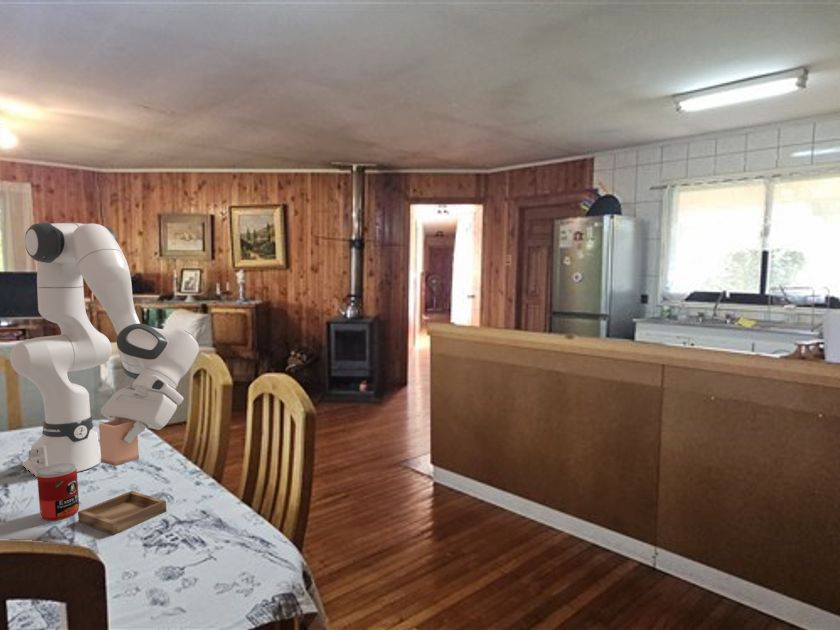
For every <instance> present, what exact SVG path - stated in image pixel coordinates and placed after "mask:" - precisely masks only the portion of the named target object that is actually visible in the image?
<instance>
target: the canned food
mask: <svg viewBox="0 0 840 630" xmlns="http://www.w3.org/2000/svg"><path fill="white" fill-rule="evenodd" d="M36 479H37V491H38V502H39V503H38V504H39V514H40V517H41V519H42V520H44V521H49V522H50V521H52V522H53V521H60V520H64V519H67V518H70V517H72V516H74V515H76V514H78V512H79V508H80V501H79V499H80V498H79V484H78V483H79V482H78V472H77V468H76V465H75V464H71V463H62V464H55V465H51V466H47V467H44V468H42V469H40V470H39V471H38V472H37V477H36Z"/></svg>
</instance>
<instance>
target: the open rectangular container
mask: <svg viewBox="0 0 840 630" xmlns="http://www.w3.org/2000/svg"><path fill="white" fill-rule="evenodd" d="M135 422H136V421H133V420H128V419H123V418H120V419H116V420H112V421H109V420H108V421H105V422H101V423H99V424H98V431H99V448H100V453H101V460H100V462H101V463H103V464H105V465H106V464H107V465H109V466H114V467H118V466H121V465H124V464H127V463H129V462H132V461H135V460H139V459H140V455H139V440H138V439H139V438H138V435H137V436H136V437H135V438H134V439H133V441H132V442H131V443H127V442H124V441H123V440H122V437H123V436H124V434H125V432H129V431H130V430H131V429H132V428H133V427H134V426H133V425H134V424H135Z"/></svg>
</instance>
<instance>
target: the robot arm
mask: <svg viewBox="0 0 840 630" xmlns="http://www.w3.org/2000/svg"><path fill="white" fill-rule="evenodd" d="M24 244H25V245H24V246H25V250H26V252H27V254H28V256H29V257H31V258H32V260H34V261H37V262H38V264H37V274H36V286H37V287H36V288H37V289H36V290H37V291H36V293H37V309H38V310H37V311H38V313H39V314H40V316H41V317H42V318H43V319H44V320H46V321H49V322H51V323H53V324H57V325H58V327H59V328H60V334H56V335H48V336H38V337H33V338H29V339H26V340H23V341H20V342H17V343H16V344H15V345H14V347H12V350H11V352H10V356H9V360H10V366H11V367H12V369H13V370H14V371H15V373H17V374H18V375H20V376H21V377H23V378H25V379H28V380H29V381H31V382H32V383H33V384H34V385H35V387H36V388H37V389H38V391H39V393H40V395H41V397H42V402H43V409H44V417H45V421H43V422H41V424H42V425H41V426H42V432H41V433H42V435H41V436H39V438H38V439H37V440H36V441H34V443H33V444H32V445H31V448H30V450H28V457H29V458H30V459H27V460H25V461H23V462H22V463H21V466H22V467H23V466H24V467H25V468H26V469H25V468H24V467H23V468H24V469H25V470H27V471H28V470H29V471H30V472H31V473H30V472H29V471H28V472H29V473H30V474H31V475H33V474H34V475H35V477H36V478H37V472H38V471H39V470H40V469H42V468H44V467H47V466H51V465H55V464H62V463H71V464H75V465H76V468H77V473H78V472H81V471H82V472H83V471H85V470H89V469H91V468H93V467H95V466H97V465H98V464H99V463H100V462H101V449H100V441H99V436H98V432H97V431H96V430H94V420H93V415H91V403H90V401H91V400H90V393H89V391H88V389H86V387H84V386H82V385H80V384H78V383H74V382H71V381H70V380H69V377H68V373H70V372H71V373H72V372H76V371H82V370H90V369H93V368H96V367H99V366H101V365H103V364H106V363H107V362H108V361H109V360H110V358H111V356H112V353H113V352H112V351H113V350H112V348H113V347H112V343H111V341H110V340H109V338H108V337H107V336H106V335H105V334H103V333H102V332H100V331H99V330H98V329H96V328H95V326H94V325H93V324H92V323H91V321H90V319H89V317H88V314H87V311H86V310H87V309H86V303H85V292H84V291H85V290H84V282H85V284H86V285H87V287H88V288H89V289H90V291H91V293H93V295H94V296H95V298H96V300H97V301H98V303H99V304H100V306H102V308H103V310H104V311H105V313H106V314H107V316H108V317H109V320H110V322H111V324H112V326H113V329H114V331H115V334H116V336H117V337H116V347H117V352H118V355H119V358H120V363H121V369H122V371H123V373H124V374H125V375H126V376H128V377H129V378H132V379H134V381H133V383H132V384H131V385H129V384H128V385H127V386H125V387H123V388H120V389H119V390H117V391H116V392H115V393H114V394H113V395H112V396H111V397H110V398H109V400H108V401H107V402H106V403H105V404H104V405H103V407H102V408H101V411H100V414H101V415H102V416H103V417H105V418H106V419H107V420H108V421H112V420H116V419H120V418H123V419H128V420H133V421H136V422H135V424H134V425H133V426H134V427H133V428H132V429H131V430H130V431H129V432H125V434H124V436H123V437H122V440H123V441H124V442H127V443H131V442H132V441H133V439H134V438H135V437H136V436H137V435H140V434H141V433H142V432H143V433H144V431H145V429H146V428H148V429H152V430H157V431H158V430H159V431H160V430H162V429H163V428H164V427H166V425H167V424H168V422H169V421H170V420H171V419H172V417H173V415H174V414H175V412H176V411H177V408H178V406H179V405H181V404H182V403H183V402H184V396H183V395H181V394H180V393H179V392H178V391H177V390H176V389H177V387H178V385H179V382H180V381H181V379H182V378H183V377H184V376H185V375H186V374H187V373H188V371H189V370H190V369H191V367H192V366H193V364H194V362H195V361H196V360H197V356H198V355H199V352H200V346H199V343H198V340H197V339H196V338H195V336H193V335H192V334H191V333H190V332H189V331H187V330H184V329H181V328H176V329H174V328H173V329H163V328H157V327H153V326H150V325H149V324H145V323H141V321H140V320H139V317H138V315H137V312H136V309H135V304H134V303H135V302H134V299H133V298H134V297H133V286H132V276H131V271H130V267H129V264H128V261H127V259H126V257H125V255H124V252H123V250H122V248H121V247H120V245H119V241H118V237H117V235H116V233H115V232H114V230H112V229H111V228H110V227H107V226H104V225H102V224H98V223H90V222H89V223H81V222H68V223H67V222H62V223H61V222H57V223H51V222H50V223H49V222H39V223H35V224H32V225H30V227H29V228H27V229H26V232H25V236H24ZM34 475H33V476H34Z"/></svg>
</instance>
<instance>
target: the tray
mask: <svg viewBox="0 0 840 630" xmlns="http://www.w3.org/2000/svg"><path fill="white" fill-rule="evenodd" d="M165 512H167V500H163V499H160V498H157V497H154V496H152V495H151V496H150V495H147V494H145V493H140V492H137V491H133V490H131V491H128V492H125V493H123V494H121V495H118V496H115V497H112V498H110V499H108V500H105V501H103V502H99V503H97V504H94V505H92V506H90V507H87V508H84V509H82V510H78V512H77V515H78V523H79V524H82V525H85V526H87V527H90V528H93V529H95V530H99V531H101V532H104V533H107V534H109V535H112V536H115V535H117V534H119V533H121V532H124V531H126V530H128V529H130V528H132V527H134V526H137V525H139V524H141V523H144V522H146V521H148V520H151V519H152V518H155V517H157V516H159V515H161V514H164V513H165Z"/></svg>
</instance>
